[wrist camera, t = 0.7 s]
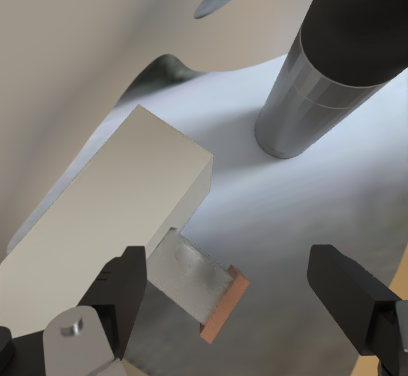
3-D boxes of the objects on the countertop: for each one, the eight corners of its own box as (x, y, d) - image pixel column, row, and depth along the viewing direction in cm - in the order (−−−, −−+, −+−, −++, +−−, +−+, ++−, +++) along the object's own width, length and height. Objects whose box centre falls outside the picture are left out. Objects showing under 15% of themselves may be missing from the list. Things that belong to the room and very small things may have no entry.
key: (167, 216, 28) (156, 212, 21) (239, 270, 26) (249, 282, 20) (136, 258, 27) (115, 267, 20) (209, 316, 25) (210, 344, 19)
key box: (169, 162, 34) (138, 104, 19) (209, 190, 33) (213, 154, 18) (85, 268, 31) (-37, 306, 15) (127, 303, 30) (42, 382, 14)
